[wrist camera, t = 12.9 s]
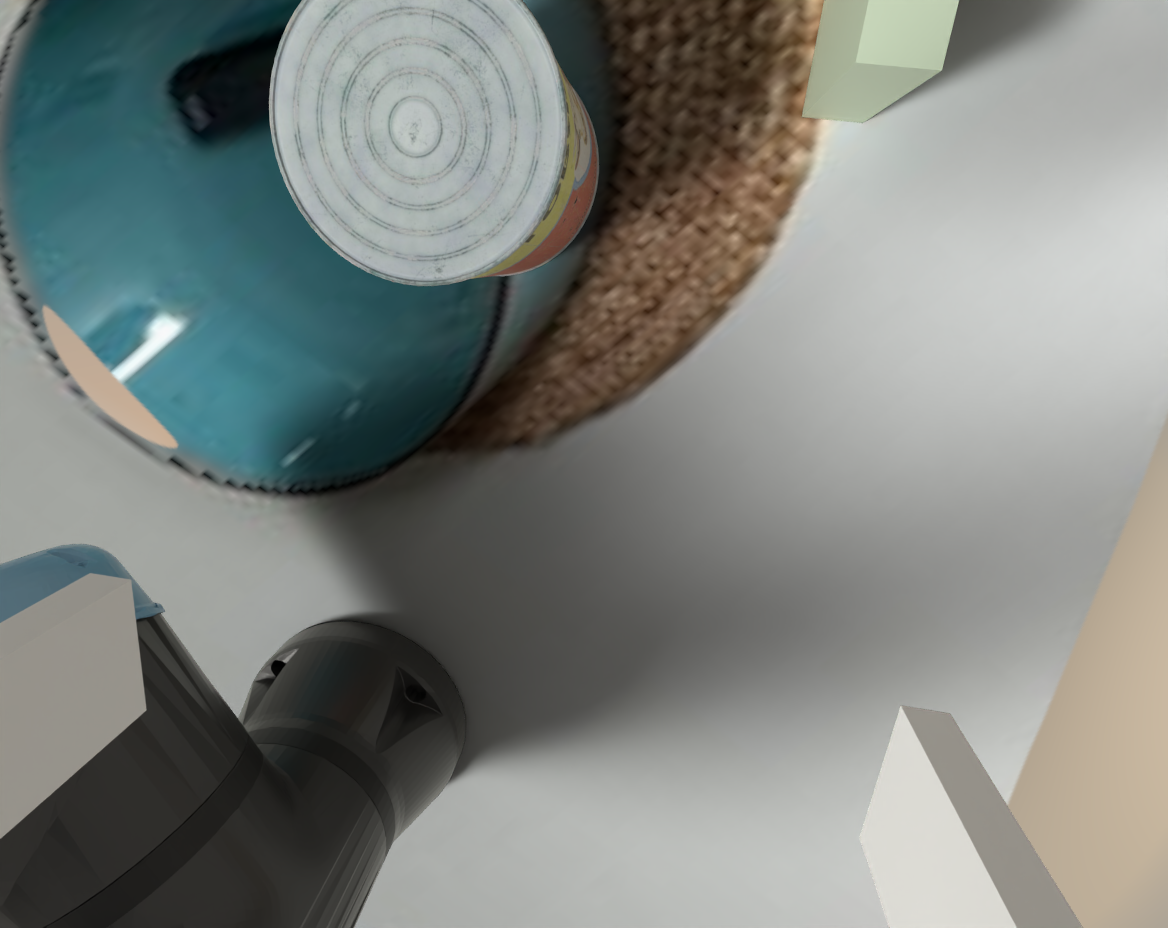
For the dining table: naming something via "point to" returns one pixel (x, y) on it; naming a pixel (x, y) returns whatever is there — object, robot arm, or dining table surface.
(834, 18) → the green arch bridge
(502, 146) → the canned food
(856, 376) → the dining table surface
